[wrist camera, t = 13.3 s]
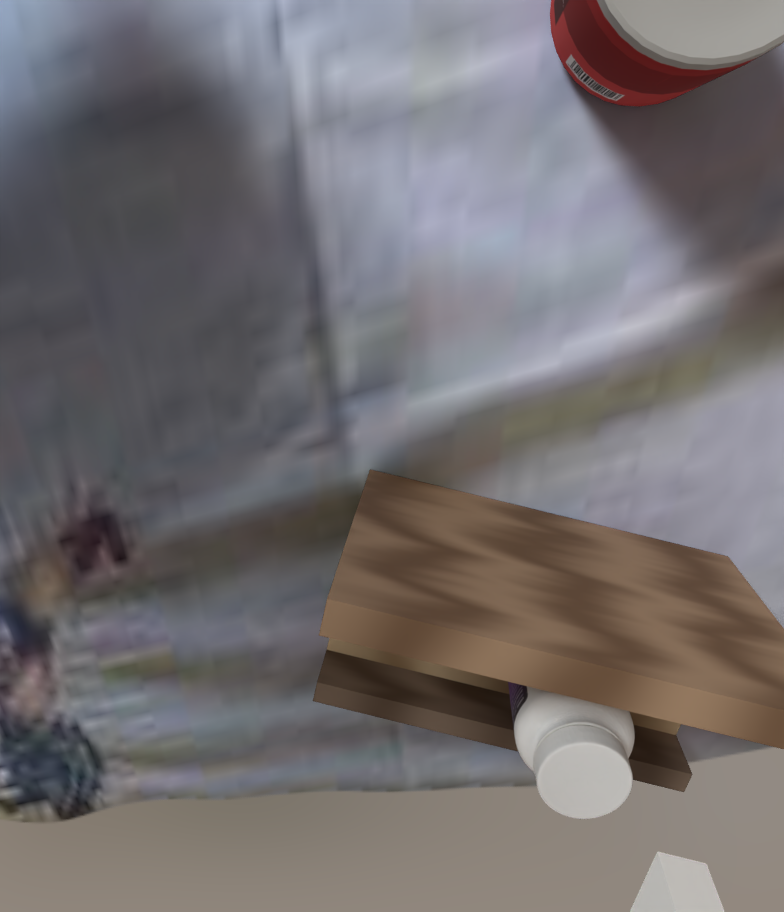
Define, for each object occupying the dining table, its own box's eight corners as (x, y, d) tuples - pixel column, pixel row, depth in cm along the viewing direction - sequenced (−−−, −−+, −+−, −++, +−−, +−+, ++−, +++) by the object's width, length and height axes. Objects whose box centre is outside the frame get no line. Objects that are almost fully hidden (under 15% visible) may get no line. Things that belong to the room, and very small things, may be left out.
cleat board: (329, 642, 44) (275, 830, 31) (369, 469, 40) (327, 598, 27) (657, 722, 44) (743, 945, 31) (728, 556, 40) (860, 729, 27)
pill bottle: (550, 709, 41) (576, 853, 32) (484, 646, 40) (492, 777, 31) (627, 653, 40) (678, 788, 31) (560, 587, 39) (592, 706, 30)
